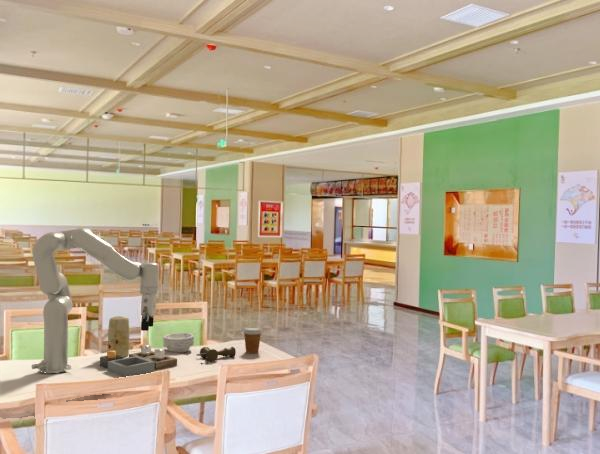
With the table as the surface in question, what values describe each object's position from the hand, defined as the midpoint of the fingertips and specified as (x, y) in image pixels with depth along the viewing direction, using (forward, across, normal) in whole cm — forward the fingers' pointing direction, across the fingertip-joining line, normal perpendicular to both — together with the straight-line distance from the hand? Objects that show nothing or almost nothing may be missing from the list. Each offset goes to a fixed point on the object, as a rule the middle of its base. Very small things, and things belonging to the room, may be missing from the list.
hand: (147, 328), depth 245 cm
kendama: (+18, +18, -30) cm, 39 cm away
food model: (+18, +16, +16) cm, 29 cm away
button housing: (+18, -1, +15) cm, 23 cm away
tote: (+18, -9, +4) cm, 20 cm away
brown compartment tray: (+18, +4, -2) cm, 18 cm away
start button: (+15, -1, +15) cm, 21 cm away
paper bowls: (+18, +33, -9) cm, 38 cm away
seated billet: (+17, +8, +2) cm, 19 cm away
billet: (+16, +1, -6) cm, 18 cm away
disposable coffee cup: (+17, +32, -47) cm, 59 cm away
